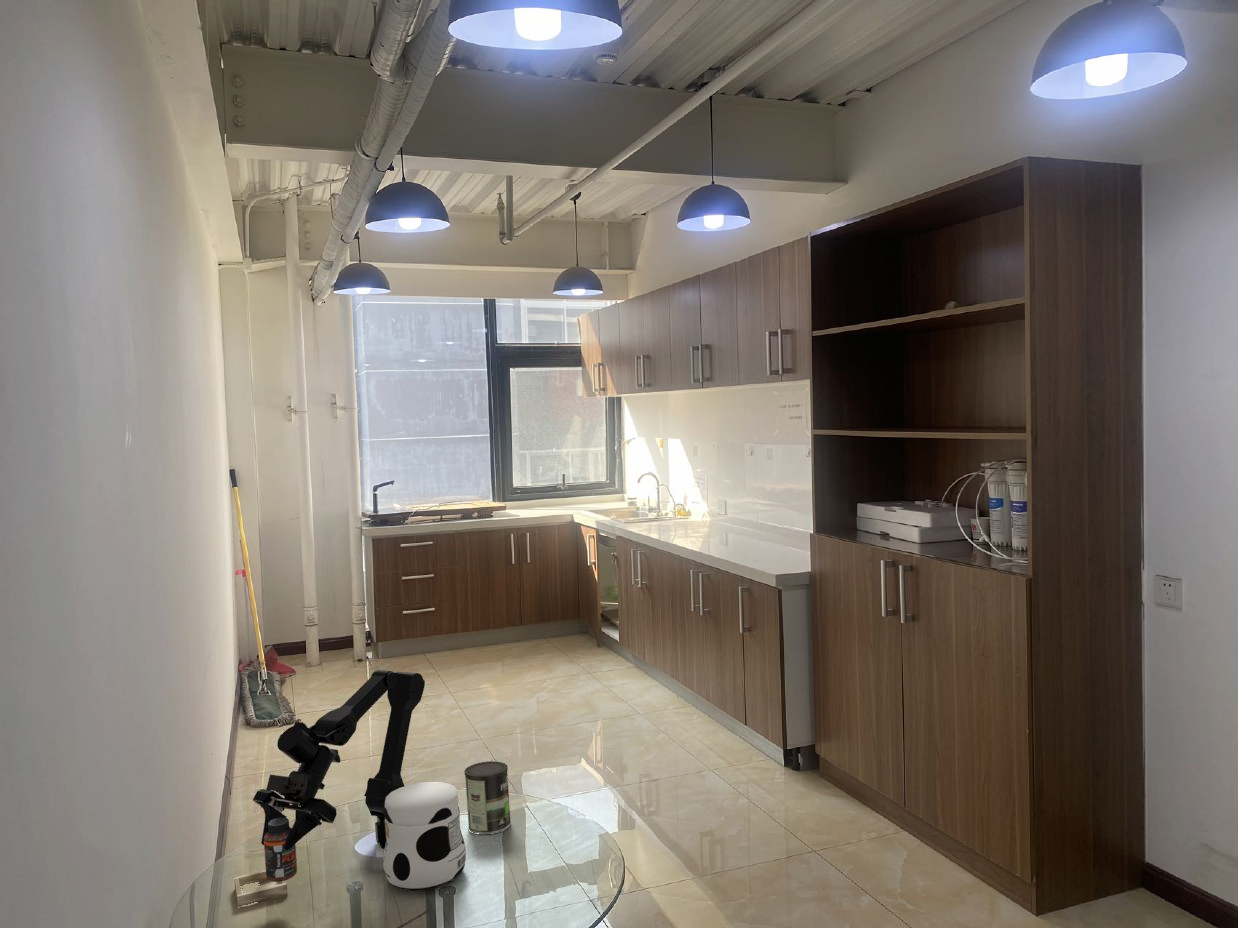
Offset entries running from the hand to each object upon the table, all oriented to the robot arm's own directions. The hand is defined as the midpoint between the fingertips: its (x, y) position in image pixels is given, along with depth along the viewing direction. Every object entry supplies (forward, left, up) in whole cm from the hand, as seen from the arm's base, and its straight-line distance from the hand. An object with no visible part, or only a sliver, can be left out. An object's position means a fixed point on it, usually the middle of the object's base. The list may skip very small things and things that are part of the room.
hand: (274, 846), depth 186 cm
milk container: (-30, +2, -13) cm, 33 cm away
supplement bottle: (-1, -1, -7) cm, 7 cm away
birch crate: (+2, -11, -13) cm, 17 cm away
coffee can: (-50, -16, -13) cm, 54 cm away
